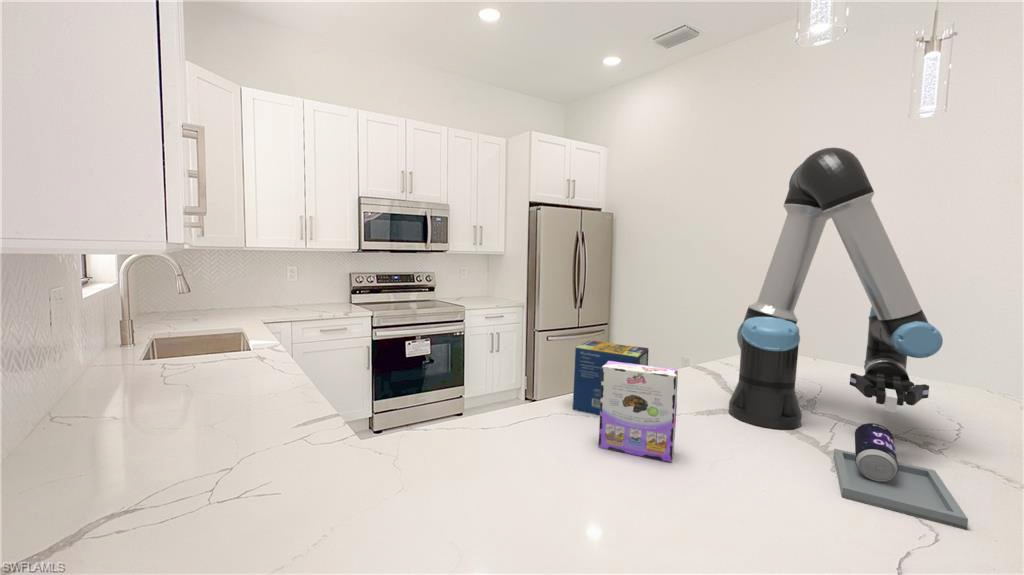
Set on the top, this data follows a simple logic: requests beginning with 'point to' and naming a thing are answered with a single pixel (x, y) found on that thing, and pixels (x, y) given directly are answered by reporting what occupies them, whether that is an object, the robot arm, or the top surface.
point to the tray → (900, 491)
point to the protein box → (599, 370)
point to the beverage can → (875, 452)
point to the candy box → (638, 409)
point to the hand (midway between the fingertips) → (891, 404)
